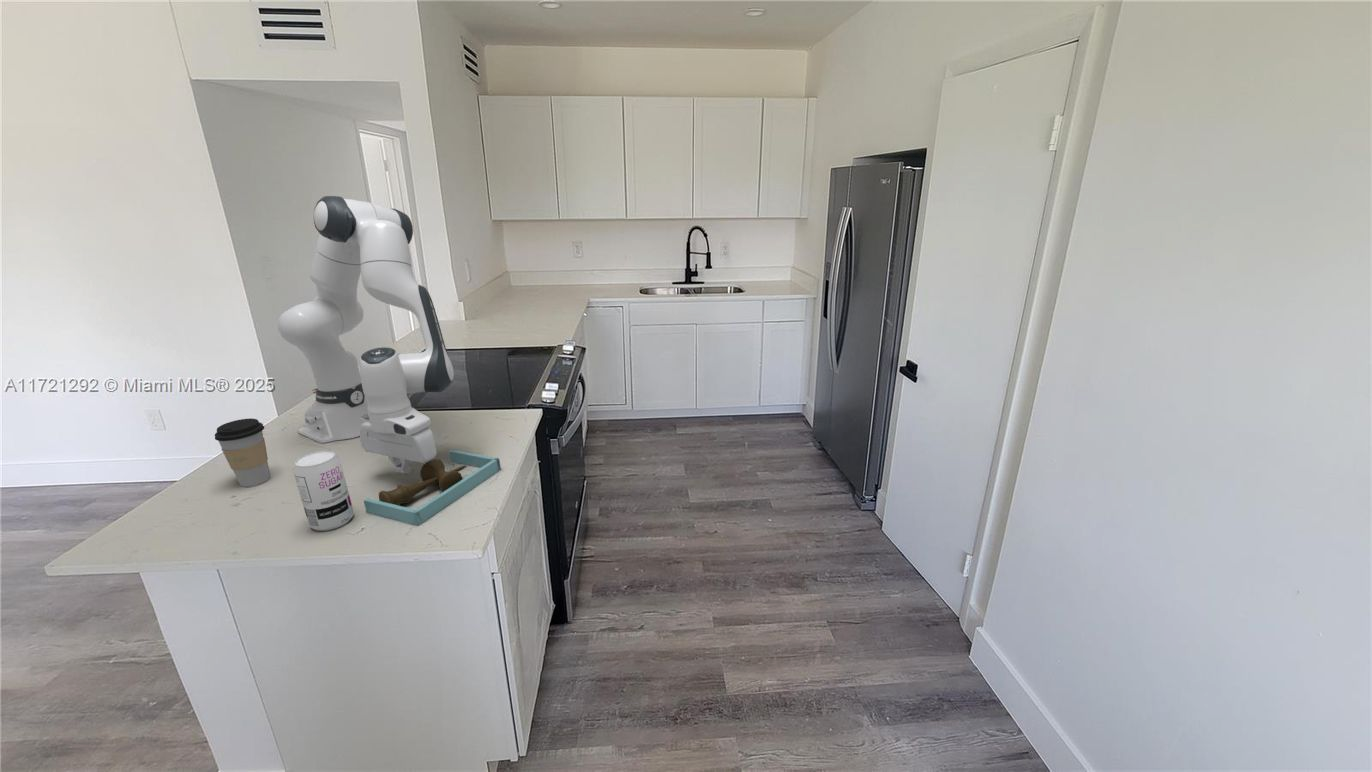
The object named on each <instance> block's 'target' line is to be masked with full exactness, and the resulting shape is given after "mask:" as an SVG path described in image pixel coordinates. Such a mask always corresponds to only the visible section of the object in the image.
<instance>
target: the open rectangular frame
mask: <svg viewBox="0 0 1372 772" xmlns="http://www.w3.org/2000/svg"><path fill="white" fill-rule="evenodd" d="M449 457H450V460H451V463H454V464H455V463H456V464H459V465H466V466H470V467H475V468H478V469H477V470H475V471H474V472H472V473H470V474H468V475H467V476H466V477H464V478H462V480H461V481H460V482H458V483H456V484H455V485H453V486H452V487H450V488H449V489H447V490H446V491H444V492H441V493H440V494H438V495H437V496H435V497H433V498H432V499H430V500H428V501H427V502H425V503H424V504H423V505H421V506H420V507H418V508H416V509H415V508H410V507H406V506H401V505H394V504H390V503H386V502H382V501H379V500H377V499H372V498H367V497H366V498H365V499H363V503H364V508H365V511H366V513H368V514H372V515H375V516H379V517H383V518H388V519H390V520H391V519H392V520H396V521H398V522H399V521H400V522H403V523H408V524H411V525H415V526H420V525H422V524H423V523H424V522H426V521H427V520H429V519H430V518H431V517H433V516H435V515H436V514H438V513H439V512H441V511H442V510H444V509H445V508H447V506H449V505H450V504H452V503H454V502H455V501H457V500H458V499H459V498H461V497H462V496H464V495H466V494H467V493H468V492H470V491H472V489H474V488H476V487H477V486H479V485H480V484H482V483H483V482H485V480H488V479H489V478H490V477H492V476H494V475H495V474H496V473H497V472H499V471H501V470H502V467H501V466H502V465H501V462H500V458H498V457H493V456H490V455H489V456H488V455H482V454H477V453H473V452H466V451H461V450H456V449H451V450H449Z"/></svg>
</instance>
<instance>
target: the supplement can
mask: <svg viewBox="0 0 1372 772" xmlns="http://www.w3.org/2000/svg"><path fill="white" fill-rule="evenodd" d="M292 470H293V471H292V473H293V476H294V480H295V481H296V485H297V489H298V492H299V495H300V499H301V502H302V506H303V510H304V513H305V516H306V519H307V522H308V526H309V528H311V529H312V530H315V531H319V532H326V531H332V530H335V529H338V528H340V527H342V526H344V525H346V524H348V522H349V521H351V519H352V518H353V516H354V515H355V512H354V508H353V504H352V499H351V496H350V493H349V490H348V484H347V480H346V477H345V474H344V470H343V467H342V463H341V459H340V457H339V456H338V455H336V453H335V452H334V451H331V450H321V451H315V452H311V453H307V454H305V455H302V456H300V457H299V458H297V459H296V460H295V461H294V466H293V469H292Z"/></svg>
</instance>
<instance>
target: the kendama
mask: <svg viewBox="0 0 1372 772" xmlns="http://www.w3.org/2000/svg"><path fill="white" fill-rule="evenodd" d="M467 466H468V465H465V464H463V465H462V466H459V467H456V468H454V469H451V470H449V471H446V468H445V463H444V462H443V461H442V460H441V459H438V458H433V459H432V460H430V461H428V462H426V463H423V465H422V466H421V468H420V471H419V473H420V475H419V477H420V478H421V481H420V482H416V483H412V484H408V485H403V484H399V485H397V487H396V488H394V489H392V490H386V491H385V490H380V491H379V492H378V499H379V500H378V501H382V502H386V503H390V504H394V505H398V506H400V505H402V504H409V503H410V502H411V499H413V497H414V496H416V495H417V494H419V493H421V492H422V491H424V490H426V489H427V488H429V487H430V486H432V485H434V484H436V483H438V486H439V489H440V491H441V493H443V492H444V491H446V490H447V489H449V488H450V487H452V486H453V485H455V484H456V483H458V482H460V481H461V480H463V476H462V474H461V473H460V471H462V470H464V469H466V468H467Z"/></svg>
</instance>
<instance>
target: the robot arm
mask: <svg viewBox="0 0 1372 772" xmlns="http://www.w3.org/2000/svg"><path fill="white" fill-rule="evenodd" d="M313 224H314V227H315V229H316V230H317V232H318V233H319V236H318V238H317V242H316V244H315V249H314V253H313V255H312V256H313V257H312V261H311V266H310V270H309V278H310V279H311V282H313V284H315V286H316V294H315V297H314V298H313V299H312V300H310V301H307V302H306V301H305V302H303V303H299V304H296V305H293V306H292V307H291V308H289V309H287V310H286V311H284V312H283V313H281V315H280V316H279V317H278V320H277V329H278V331H279V334H280V335H281V337H282V338H283V339H284V340H285V341H286V342H288V343H289V344H291V345H293V346H296V347H297V348H298V349H299V350H300V351H301V352H302V353H303V355H304V356H305V358H306V359H307V361H308V363H309V365H310V368H311V371H312V373H313V378H314V382H315V385H316V388H315V389H312V390H311V391H312V394H315V401H314V402H313V403H312V405H311V406H309V407H308V409H307V410H306V411H305V412H304V421H305V425H304V424H303V426H301V427H300V428H298V429H297V433H298V434H300V435H301V436H304V437H307V438H308V439H311V440H313V441H315V442H318V443H320V444H326V443H329V442H335V441H341V440H343V441H344V440H348V439H353V438H358V437H360V444H361V447H362V449H363V450H364V451H365V452H367V453H372V454H376V455H377V454H378V455H382V456H386V457H388V460H389V462H390V463H391V464H392V465H393V467H394V471H395V472H396V473H400V474H402V475H403V474H404V475H407V474H409V473H410V472H411V466H410V465H411V463H412V462H416V463H420V464H425V463H426V462H428V461H430V460H433V459H436V455H437V447H436V441H435V437H434V434H433V433H434V432H433V431H432V430H431V428H430V426H431V425H432V422H431V418H430V417H429V416H427V415H425V414H423V413H421V412H420V411H418V410H417V409H415V407H412V404H411V403H412V402H411V400H410V398H409V397H408V394H413V393H415V394H416V393H424V392H425V393H442V392H443V391H445V390H447V388H449V386H451V384H452V383H453V382H454V373H455V372H454V367H453V364H452V361H451V359H450V357H449V354H448V351H447V349H446V348H447V347H446V345H445V340H444V337H443V334H442V329H441V327H440V322H439V319H438V316H437V313H436V308H435V305H434V302H433V300H432V296H431V294H430V292H429V291H428V289H427V288H426V287H425V286H423V285H421V284H419V282H418V281H417V279H416V278H415V275H414V272H413V264H412V255H411V251H410V246H409V245H410V243H411V241H412V239H413V234H414V228H413V227H414V226H413V223H412V220H411V218H410V217H409V216H408V215H407V214H406V213H404V212H403V211H401V210H398V209H396V208H391V207H387V206H385V205H381V204H377V203H374V202H371V201H362V200H358V199H350V198H343V197H342V196H337V195H326V196H322V197H321V198H320V199H319V200H318V201H317V202H316V205H315V206H314V210H313ZM360 277H361V281H362V285H363V287H364V289H365V291H366V292H367V293H368V294H369V296H371V297H372V298H373V299H376V300H377V301H379V302H381V303H385V304H387V305H390V306H393V307H396V308H401V309H404V310H407V311H409V312H411V313H412V314H413V315H415V317H416V318H417V321H418V324H419V328H420V331H421V335H422V340H423V342H424V345H425V346H424V347H425V350H424V351H422V352H408V353H398V352H397V350H396V349H394V348H392V347H385V346H384V347H376V348H372V349H369V350H367V351H365V352H363V353H362V354H361V355H360V357H359V364H358V361H357V360H358V359H357V357H356V355H355V354H354V353H352V352H350V351H348V350H346V349H345V347H344V346H343V344H342V343H341V341H340V337H339V336H342V335H344V334H346V333H348V332H351V331H352V330H353V329H355V328H356V327H357V326H358V325H359V324H361V322H362V321H363V319H364V310H363V309H364V308H363V307H362V304H361V303H360V302H359V301H358V285H359V280H360ZM313 391H314V392H313Z"/></svg>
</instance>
